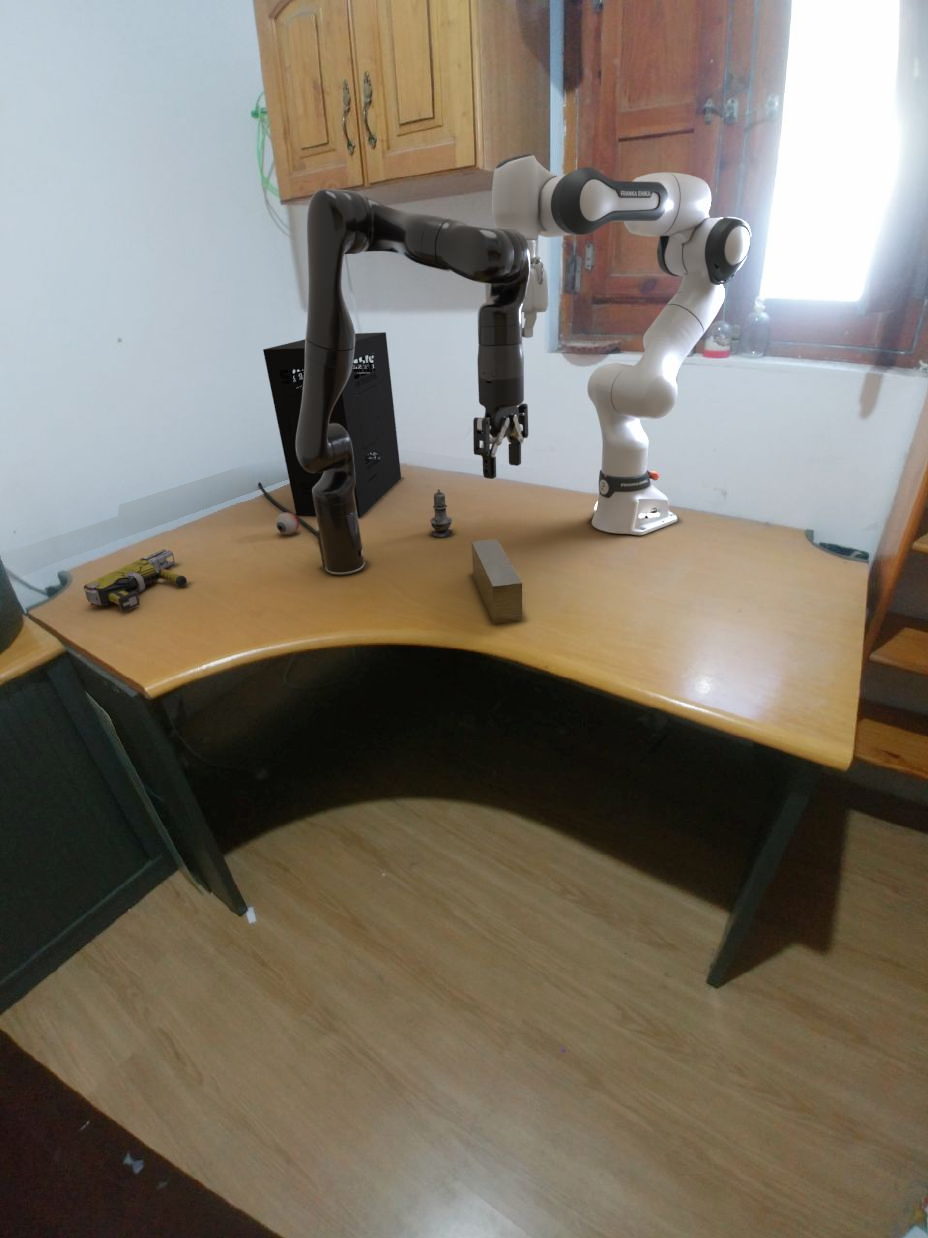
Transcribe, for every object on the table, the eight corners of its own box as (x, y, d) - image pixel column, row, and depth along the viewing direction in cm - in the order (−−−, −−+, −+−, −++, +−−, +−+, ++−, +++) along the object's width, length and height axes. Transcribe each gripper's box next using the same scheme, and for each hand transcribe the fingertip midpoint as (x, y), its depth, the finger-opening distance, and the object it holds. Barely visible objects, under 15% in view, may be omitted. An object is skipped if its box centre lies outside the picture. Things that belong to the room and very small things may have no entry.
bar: (473, 575, 137) (471, 541, 133) (497, 572, 138) (496, 538, 134) (493, 624, 118) (492, 586, 114) (522, 620, 119) (522, 582, 114)
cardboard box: (360, 517, 174) (335, 347, 151) (296, 514, 178) (263, 349, 156) (401, 477, 205) (385, 332, 183) (345, 476, 210) (324, 334, 187)
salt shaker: (450, 537, 157) (447, 492, 151) (428, 536, 158) (424, 492, 152) (455, 529, 162) (452, 485, 156) (433, 528, 163) (430, 485, 157)
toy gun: (210, 557, 146) (160, 546, 150) (132, 599, 126) (77, 585, 130) (213, 575, 148) (164, 564, 152) (137, 618, 128) (82, 604, 132)
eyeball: (273, 537, 164) (268, 516, 161) (287, 528, 169) (282, 508, 166) (291, 539, 161) (286, 518, 158) (305, 530, 166) (301, 510, 163)
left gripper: (503, 366, 105) (505, 458, 114) (457, 379, 96) (462, 479, 104) (541, 367, 102) (540, 463, 110) (497, 381, 92) (499, 485, 100)
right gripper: (557, 255, 111) (555, 337, 118) (505, 259, 127) (506, 331, 134) (527, 256, 109) (527, 340, 116) (478, 260, 125) (481, 334, 132)
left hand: (502, 471), depth 107 cm, fingers open, 8 cm apart
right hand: (516, 335), depth 125 cm, fingers open, 8 cm apart
